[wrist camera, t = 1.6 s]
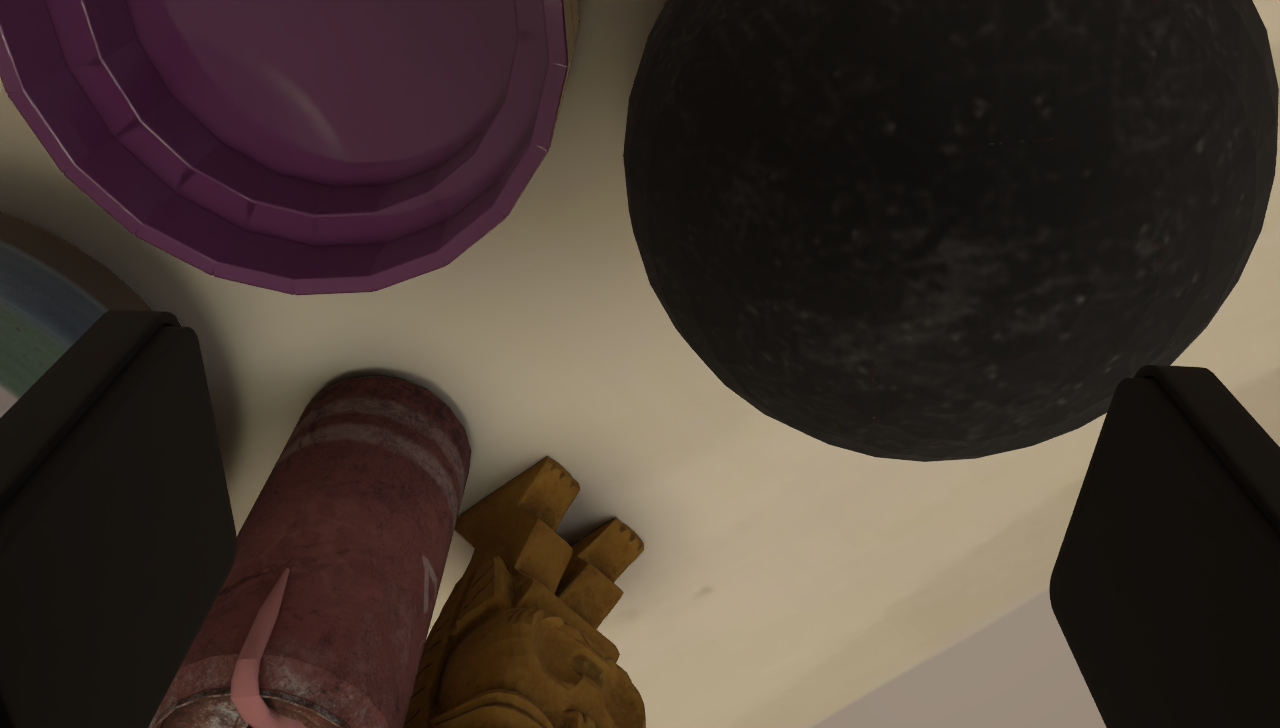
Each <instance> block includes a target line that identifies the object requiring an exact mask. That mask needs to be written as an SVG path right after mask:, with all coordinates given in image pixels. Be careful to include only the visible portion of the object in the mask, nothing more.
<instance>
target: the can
mask: <svg viewBox="0 0 1280 728" xmlns="http://www.w3.org/2000/svg"><path fill="white" fill-rule="evenodd" d="M470 456H471V449H470V446H469V442H468V439H467V435H466V432H465V429H464V427H463V426H462V424H461V423H460V422H459V420H458V419H457V417H456V416H455V415H454V413H453V412H452V410H451V409H450V408H449V407H448V406H447V405H446V404H445V403H444V402H443V401H441V400H440V399H439V398H438V397H436V396H435V395H434V394H432V393H431V392H430V391H429V390H427V389H426V388H423V387H421V386H418V385H416V384H414V383H411V382H409V381H407V380H404V379H399V378H392V377H385V376H369V377H361V378H353V379H346V380H344V381H341V382H339V383H337V384H335V385H333V386H330V387H328V388H326V389H324V390H322V391H321V392H320V393H319V394H318V395H317V396H316V397H315V398H314V399H313V400H312V401H311V402H310V403H309V404H308V405H307V406H306V408H305V410H304V412H303V413H302V415H301V417H300V419H299V421H298V423H297V425H296V427H295V428H294V430H293V432H292V434H291V436H290V438H289V440H288V442H287V444H286V445H285V447H284V449H283V451H282V453H281V455H280V457H279V459H278V460H277V462H276V464H275V466H274V468H273V470H272V472H271V474H270V476H269V477H268V479H267V481H266V483H265V485H264V487H263V489H262V491H261V492H260V494H259V496H258V498H257V500H256V502H255V504H254V506H253V508H252V509H251V511H250V513H249V515H248V517H247V519H246V521H245V523H244V524H243V526H242V528H241V530H240V532H239V534H238V536H237V544H236V554H235V559H234V563H233V566H232V568H231V571H230V573H229V575H228V577H227V579H226V580H225V582H224V584H223V586H222V588H221V590H220V592H219V594H218V596H217V598H216V599H215V601H214V603H213V605H212V607H211V609H210V611H209V613H208V615H207V617H206V619H205V620H204V622H203V624H202V626H201V628H200V630H199V632H198V634H197V636H196V638H195V640H194V641H193V643H192V645H191V647H190V649H189V651H188V653H187V655H186V657H185V659H184V661H183V662H182V664H181V666H180V668H179V670H178V672H177V674H176V676H175V678H174V680H173V681H172V683H171V685H170V687H169V689H168V691H167V693H166V695H165V697H164V699H163V701H162V702H161V704H160V706H159V708H158V710H157V712H156V714H155V716H154V718H153V720H152V722H151V723H150V725H149V727H148V728H403V727H404V723H405V719H406V716H407V712H408V708H409V704H410V700H411V696H412V692H413V688H414V684H415V680H416V677H417V673H418V669H419V665H420V661H421V657H422V653H423V649H424V645H425V641H426V637H427V634H428V630H429V626H430V622H431V618H432V614H433V610H434V606H435V602H436V598H437V595H438V591H439V587H440V583H441V579H442V575H443V571H444V567H445V563H446V559H447V556H448V552H449V548H450V544H451V540H452V536H453V532H454V528H455V524H456V520H457V517H458V513H459V509H460V505H461V501H462V497H463V493H464V489H465V485H466V481H467V478H468V474H469V465H470Z"/></svg>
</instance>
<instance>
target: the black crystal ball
mask: <svg viewBox="0 0 1280 728" xmlns="http://www.w3.org/2000/svg"><path fill="white" fill-rule="evenodd" d="M1278 93H1279V88H1278V83H1277V78H1276V74H1275V69H1274V64H1273V59H1272V54H1271V49H1270V44H1269V40H1268V35H1267V30H1266V28H1265V26H1264V24H1263V22H1262V20H1261V18H1260V16H1259V13H1258V11H1257V9H1256V7H1255V5H1254V3H1253V1H1252V0H667V2H666V4H665V5H664V7H663V9H662V11H661V13H660V15H659V17H658V18H657V20H656V22H655V24H654V26H653V28H652V30H651V32H650V34H649V36H648V39H647V42H646V45H645V48H644V52H643V55H642V58H641V61H640V64H639V68H638V71H637V74H636V77H635V81H634V84H633V87H632V90H631V93H630V97H629V105H628V115H627V125H626V134H625V144H624V154H623V157H624V167H625V177H626V187H627V197H628V206H629V213H630V218H631V223H632V228H633V233H634V236H635V239H636V242H637V245H638V248H639V251H640V254H641V258H642V261H643V264H644V267H645V270H646V273H647V276H648V279H649V282H650V285H651V286H652V288H653V290H654V292H655V293H656V295H657V297H658V299H659V300H660V302H661V304H662V306H663V307H664V309H665V311H666V312H667V314H668V316H669V318H670V319H671V321H672V323H673V325H674V326H675V328H676V329H677V331H678V332H679V333H680V334H681V336H682V337H683V338H684V339H685V340H686V342H687V343H688V344H689V345H690V347H691V348H692V349H693V350H694V351H695V352H696V353H697V355H698V356H699V357H700V358H701V359H702V360H703V361H704V362H705V364H706V365H707V366H708V367H709V368H710V369H711V370H712V371H713V372H714V374H715V375H716V376H717V377H718V378H719V379H720V380H721V381H722V382H723V384H724V385H726V386H727V387H728V388H730V389H731V390H732V391H734V392H735V393H736V394H738V395H739V396H740V397H742V398H743V399H744V400H746V401H747V402H749V403H750V404H751V405H753V406H754V407H755V408H757V409H758V410H759V411H761V412H762V413H763V414H765V415H767V416H769V417H771V418H774V419H776V420H778V421H780V422H782V423H784V424H786V425H788V426H790V427H792V428H794V429H797V430H799V431H801V432H803V433H805V434H807V435H809V436H811V437H814V438H816V439H818V440H820V441H823V442H825V443H827V444H829V445H833V446H837V447H840V448H844V449H848V450H851V451H855V452H859V453H863V454H866V455H870V456H874V457H880V458H891V459H901V460H912V461H923V462H928V461H943V460H959V459H974V458H980V457H984V456H989V455H993V454H998V453H1002V452H1007V451H1011V450H1016V449H1021V448H1025V447H1029V446H1033V445H1036V444H1039V443H1041V442H1044V441H1046V440H1049V439H1052V438H1054V437H1057V436H1060V435H1062V434H1065V433H1068V432H1070V431H1073V430H1075V429H1078V428H1080V427H1082V426H1084V425H1086V424H1087V423H1089V422H1091V421H1093V420H1094V419H1096V418H1098V417H1100V416H1102V415H1103V414H1105V413H1107V412H1108V409H1109V406H1110V403H1111V400H1112V397H1113V395H1114V392H1115V390H1116V387H1117V385H1118V384H1119V383H1120V381H1121V380H1122V379H1125V378H1134V375H1135V374H1136V373H1137V372H1138V370H1139V369H1140V368H1141V367H1143V366H1145V365H1165V366H1170V365H1171V364H1172V363H1173V362H1174V361H1175V360H1176V359H1177V358H1178V357H1179V356H1180V355H1181V353H1182V352H1183V351H1184V350H1185V349H1186V348H1187V347H1188V346H1189V345H1190V344H1191V343H1192V342H1193V341H1194V340H1195V339H1196V338H1197V337H1198V336H1199V335H1200V334H1201V333H1202V331H1203V330H1204V329H1205V328H1206V327H1207V326H1208V324H1209V323H1210V321H1211V320H1212V319H1213V317H1214V316H1215V314H1216V313H1217V311H1218V310H1219V308H1220V307H1221V305H1222V304H1223V303H1224V301H1225V300H1226V298H1227V297H1228V295H1229V294H1230V292H1231V291H1232V289H1233V288H1234V286H1235V285H1236V284H1237V282H1238V281H1239V278H1240V276H1241V274H1242V272H1243V270H1244V267H1245V265H1246V263H1247V261H1248V259H1249V256H1250V254H1251V252H1252V250H1253V248H1254V245H1255V243H1256V241H1257V239H1258V237H1259V234H1260V232H1261V230H1262V226H1263V222H1264V218H1265V214H1266V210H1267V205H1268V201H1269V197H1270V193H1271V189H1272V185H1273V181H1274V176H1275V167H1276V155H1277V132H1278Z"/></svg>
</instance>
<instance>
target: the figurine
mask: <svg viewBox="0 0 1280 728" xmlns="http://www.w3.org/2000/svg"><path fill="white" fill-rule="evenodd" d="M579 491H580V487H579V484H578V482H577V481H575V480H574V479H573V478H572V477H571V475H570V474H569V473H568V472H567V471H566V470H565V469H564V468H563V467H562V466H561V465H560V464H558V463H557V462H556V461H554V460H552V459H551V458H550V457H548V456H547V457H546V458H544V459H543V460H542V461H541V462H539V463H538V464H537V465H535V466H533V467H532V468H530V469H528V470H527V471H525V472H523V473H522V474H520V475H519V476H517V477H515V478H514V479H513V480H511V481H510V482H508V483H507V484H505V485H504V486H502V487H501V488H499V489H498V490H496V491H495V492H493V493H492V494H491V495H489V496H488V497H486V498H485V499H483V500H482V501H481V502H479V503H478V504H476V505H475V506H473V507H472V508H471V509H469V510H468V511H466V512H465V513H464V514H462V515H461V516H460V517H459V518H457V520H456V524H455V528H454V530H455V531H456V532H457V533H458V534H459V535H460V536H462V537H463V538H464V539H465V540H466V541H468V542H469V543H470V544H471V545H472V546H473V547H474V548H475V550H474V553H473V556H472V558H471V561H470V563H469V565H468V567H467V569H466V571H465V573H464V575H463V577H462V578H461V579H460V580H459V581H458V582H457V583H456V584H455V586H454V589H453V591H452V592H451V594H450V596H449V598H448V600H447V601H446V603H445V605H444V607H443V609H442V611H441V613H440V615H439V617H438V619H437V621H436V622H435V624H434V626H433V627H432V629H431V631H430V633H429V635H428V637H427V640H426V642H425V645H424V649H423V653H422V657H421V661H420V665H419V669H418V673H417V677H416V680H415V684H414V688H413V692H412V696H411V700H410V704H409V708H408V712H407V716H406V719H405V723H404V727H403V728H646V718H645V708H644V703H643V700H642V698H641V695H640V693H639V691H638V690H637V689H636V687H635V686H634V685H633V684H632V682H631V680H630V678H629V676H628V674H627V672H626V671H624V670H623V669H622V668H621V667H619V666H618V665H617V664H616V662H617V660H618V658H619V655H620V654H619V651H618V649H617V648H616V646H615V645H614V644H613V643H612V642H611V641H610V640H608V639H607V638H606V637H605V636H603V635H602V634H601V633H600V632H598V631H597V630H596V629H597V628H598V626H599V625H600V624H601V622H602V621H603V620H604V619H605V617H606V616H607V615H608V614H609V613H610V611H611V610H612V609H613V607H614V606H615V605H616V603H617V602H618V601H619V599H620V598H621V596H622V595H623V593H624V592H623V591H622V590H621V589H620V588H619V587H617V586H616V585H615V584H614V582H615V581H616V579H617V578H618V577H619V576H620V575H621V574H622V573H623V572H624V570H625V569H626V568H627V567H628V566H629V565H630V564H631V563H632V562H633V561H634V560H635V559H636V558H637V557H638V556H639V555H640V554H641V552H642V551H643V550H644V543H643V542H642V541H641V540H640V538H639V537H638V536H637V534H636V533H635V532H634V531H632V530H631V529H630V528H629V527H627V526H626V525H625V524H623V523H622V522H621V521H619V520H618V519H617V518H615V519H613V520H611V521H609V522H608V523H606V524H604V525H603V526H601V527H600V528H598V529H597V530H595V531H593V532H592V533H590V534H589V535H587V536H586V537H584V538H583V539H582V540H580V541H579V542H577V543H576V544H574V545H573V546H571V547H570V545H569V544H568V543H567V542H566V541H564V540H563V539H562V538H561V537H560V536H559V535H557V534H556V533H555V530H556V529H557V527H558V525H559V523H560V521H561V519H562V518H563V516H564V514H565V512H566V511H567V509H568V508H569V506H570V505H571V503H572V502H573V500H574V499H575V497H576V495H577V494H578V492H579Z"/></svg>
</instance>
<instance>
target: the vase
mask: <svg viewBox="0 0 1280 728" xmlns="http://www.w3.org/2000/svg"><path fill="white" fill-rule="evenodd" d="M114 309H118V310H137V311H153V310H152V309H151V308H150V307H149V306H148V305H147V304H146V303H145V302H144V301H143V300H142V299H141V298H140V297H139V296H138V295H137V294H136V293H135V292H134V291H133V290H132V289H131V288H129V287H128V286H127V285H126V284H125V283H124V282H123V281H122V280H120V279H119V278H118V277H117V276H115V275H114V274H113V273H112V272H111V271H109V270H108V269H107V268H105V267H104V266H103V265H101V264H100V263H98V262H97V261H96V260H94V259H93V258H91V257H90V256H88V255H87V254H85V253H84V252H82V251H80V250H79V249H77V248H76V247H74V246H72V245H71V244H69V243H67V242H65V241H64V240H62V239H60V238H58V237H56V236H54V235H52V234H50V233H48V232H46V231H44V230H42V229H40V228H38V227H36V226H33V225H31V224H29V223H26V222H24V221H21V220H19V219H17V218H14V217H11V216H8V215H5V214H2V213H0V418H1V417H2V416H3V415H4V414H5V413H6V412H7V411H8V410H9V409H10V408H11V407H12V406H13V405H14V404H15V403H16V402H17V401H18V400H19V399H20V398H21V397H22V396H23V395H24V394H25V393H26V392H27V390H28V389H29V388H30V387H31V386H32V385H33V384H34V383H35V382H36V381H37V380H38V379H39V378H40V377H41V376H42V375H43V374H44V373H45V372H46V371H47V370H48V369H49V368H50V367H51V366H52V365H53V364H54V363H55V362H56V361H57V360H58V359H59V358H60V357H61V356H62V355H63V354H64V353H65V352H66V351H67V350H68V349H69V348H70V347H71V346H72V345H73V344H74V343H75V342H76V341H77V340H78V339H79V338H80V337H81V336H82V335H83V334H84V333H85V332H86V331H87V330H88V329H89V328H90V327H91V326H92V325H93V324H94V323H95V322H96V321H97V320H98V319H99V318H100V317H101V316H102V315H103V314H104V313H106V312H107V311H109V310H114Z"/></svg>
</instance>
